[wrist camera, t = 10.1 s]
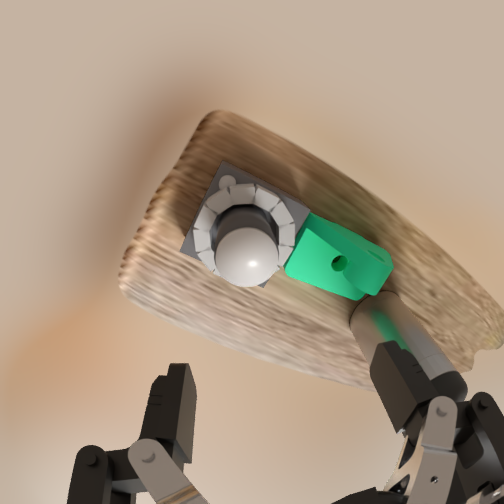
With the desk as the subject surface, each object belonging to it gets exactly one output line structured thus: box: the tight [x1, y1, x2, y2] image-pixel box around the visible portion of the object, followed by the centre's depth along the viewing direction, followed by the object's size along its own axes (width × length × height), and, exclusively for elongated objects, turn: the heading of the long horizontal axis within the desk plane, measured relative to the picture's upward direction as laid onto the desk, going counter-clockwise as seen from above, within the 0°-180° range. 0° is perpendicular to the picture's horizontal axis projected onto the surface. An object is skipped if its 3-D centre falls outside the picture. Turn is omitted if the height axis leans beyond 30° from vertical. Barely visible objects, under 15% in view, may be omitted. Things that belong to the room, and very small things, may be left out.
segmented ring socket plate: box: [179, 160, 311, 288], centre depth 29 cm, size 10×10×6 cm
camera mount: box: [283, 212, 394, 300], centre depth 30 cm, size 12×8×10 cm, turn 66°
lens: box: [214, 204, 279, 287], centre depth 24 cm, size 5×5×8 cm
